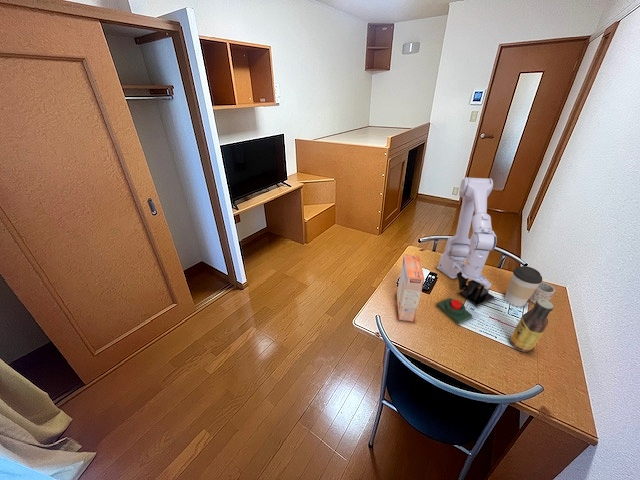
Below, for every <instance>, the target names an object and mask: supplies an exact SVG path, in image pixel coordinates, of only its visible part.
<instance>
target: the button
mask: <svg viewBox="0 0 640 480" xmlns="http://www.w3.org/2000/svg"><path fill="white" fill-rule="evenodd" d="M462 304H463V302H461V301H460V300H458V299H453V300H452V301H451V304H450V306H451V307H452V308H453V309H455V310H460V309H461V306H462Z"/></svg>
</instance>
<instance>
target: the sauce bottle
mask: <svg viewBox="0 0 640 480" xmlns="http://www.w3.org/2000/svg"><path fill="white" fill-rule="evenodd" d="M554 308H555V305H554V303H552V302H551V300H549V301H548V300H546V299H538V300H537V301H536V302H535V303H534V306H533V307H532V309H530V310H528V311H527V312H525V313H523V314H522V316H521V318H520V319H519V321H518V322H517V324H516V327H515V328H514V330H513V331H512V334H511V336H510V339H509V341H510V344H511V346H512V347H513V348H515V349H516V350H518V351H520V352H525V353H527V352H530V351H531V350H533V348H535V345H536V344H537V342H538V341H539V339H540V338H541V337H542V335H543V333H544V332H545V330H546V328H547V327H548V325H549V319H548V317H549V314H550V313H551V312H552V311H553V310H554Z"/></svg>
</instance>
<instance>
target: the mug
mask: <svg viewBox="0 0 640 480" xmlns="http://www.w3.org/2000/svg"><path fill="white" fill-rule="evenodd" d="M555 292H556V288H555V287H554V286H553V285H551V283H550V284H549V283H547V282H544V281H542V282H541V283H540V284H539V285H538V288H537V289H536V290H535V292H534V293H533V294H532V296H531V297H530V298H529V299H528V301H530V302H531V303H533V304H535V302H536V301H537V300H538V299H546V300H548V301H551V298H552V297H553V295H554V293H555Z"/></svg>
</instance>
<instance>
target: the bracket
mask: <svg viewBox="0 0 640 480" xmlns="http://www.w3.org/2000/svg"><path fill="white" fill-rule="evenodd" d="M489 282H490V283H492V282H491V281H489ZM490 289H491V287H490V288H489V289H485V288H484V286H483V285H482V286H481V289H479V288H475V289H474V291H473V292H472V293H471V294H470V295H466V292H465V291H463V290H461V291H459V295H460V296H461V297H462V298H463V299H465V300H466V301H467V302H469V303H470V304H471V305H473V306H474V307H475V308H477V307H480V306H482V305H484V304H486V303H489V302H490V301H493V300H494V299H495V296H494V295H492V294H491V293H489V291H490Z"/></svg>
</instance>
